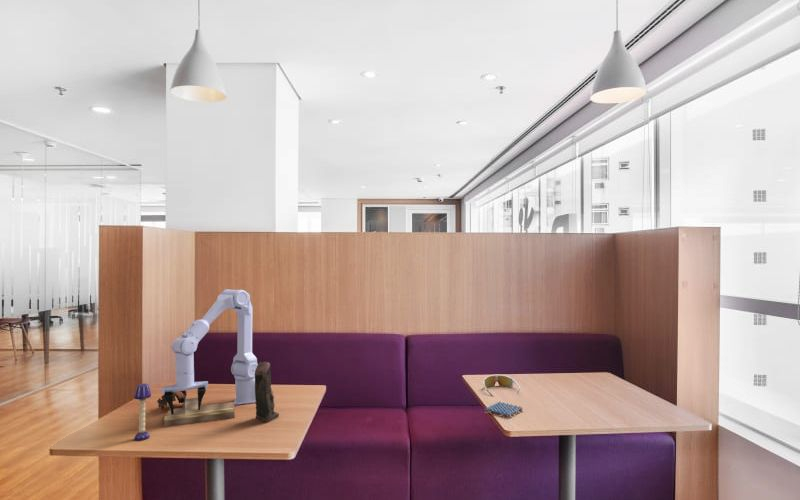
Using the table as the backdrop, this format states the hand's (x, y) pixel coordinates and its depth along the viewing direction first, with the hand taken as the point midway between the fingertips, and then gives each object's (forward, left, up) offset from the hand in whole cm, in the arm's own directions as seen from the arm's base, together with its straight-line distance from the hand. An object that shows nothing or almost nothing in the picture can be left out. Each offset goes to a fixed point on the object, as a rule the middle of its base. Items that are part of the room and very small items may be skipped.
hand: (185, 411), depth 159 cm
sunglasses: (-118, +13, -4) cm, 119 cm away
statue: (-26, +9, -4) cm, 28 cm away
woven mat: (-105, +34, -4) cm, 111 cm away
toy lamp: (+11, +11, -3) cm, 16 cm away
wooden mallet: (-2, -3, -1) cm, 3 cm away
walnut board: (-5, -3, -3) cm, 6 cm away
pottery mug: (+5, -17, -4) cm, 18 cm away
